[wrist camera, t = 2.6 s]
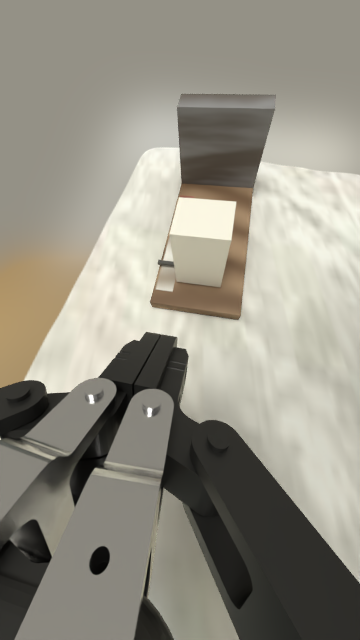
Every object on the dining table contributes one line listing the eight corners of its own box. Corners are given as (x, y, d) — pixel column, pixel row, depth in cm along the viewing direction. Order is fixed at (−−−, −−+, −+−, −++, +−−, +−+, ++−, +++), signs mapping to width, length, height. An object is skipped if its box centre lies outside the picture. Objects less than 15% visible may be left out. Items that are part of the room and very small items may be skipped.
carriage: (220, 287, 27) (231, 240, 19) (154, 278, 29) (138, 231, 20) (226, 245, 30) (238, 187, 22) (165, 239, 31) (155, 182, 23)
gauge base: (238, 319, 28) (265, 270, 17) (152, 306, 29) (127, 253, 18) (252, 176, 37) (276, 86, 26) (187, 172, 39) (184, 85, 28)
